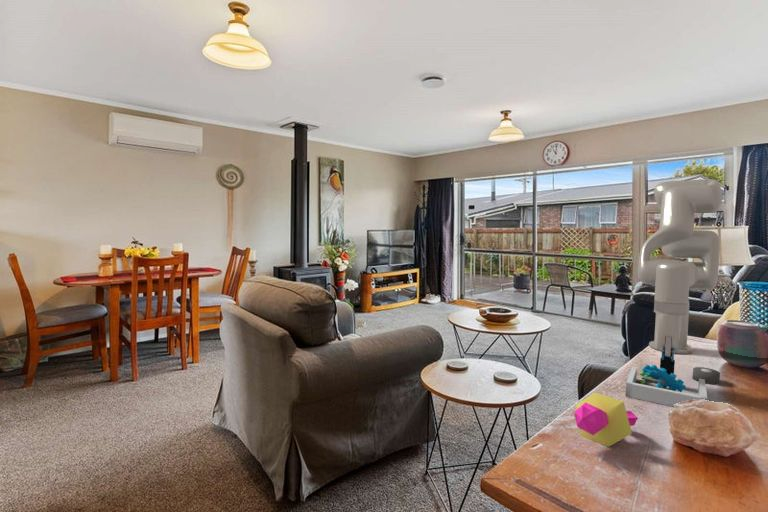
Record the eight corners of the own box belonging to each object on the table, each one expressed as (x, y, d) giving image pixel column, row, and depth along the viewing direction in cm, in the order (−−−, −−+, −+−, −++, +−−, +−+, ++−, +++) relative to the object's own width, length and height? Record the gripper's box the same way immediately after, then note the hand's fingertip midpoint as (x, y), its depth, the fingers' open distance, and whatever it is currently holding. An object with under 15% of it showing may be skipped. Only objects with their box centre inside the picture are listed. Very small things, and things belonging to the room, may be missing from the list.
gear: (695, 391, 103) (672, 366, 101) (684, 410, 102) (661, 385, 100) (655, 381, 114) (634, 358, 112) (644, 398, 112) (623, 375, 110)
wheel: (692, 374, 119) (693, 365, 119) (718, 379, 116) (719, 369, 115) (692, 381, 114) (693, 370, 114) (720, 386, 111) (720, 375, 111)
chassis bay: (631, 378, 116) (632, 366, 116) (703, 392, 107) (704, 379, 106) (625, 396, 104) (626, 383, 104) (706, 413, 94) (707, 399, 94)
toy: (654, 445, 82) (639, 392, 87) (616, 447, 72) (601, 387, 76) (604, 445, 89) (592, 396, 94) (563, 448, 79) (552, 392, 83)
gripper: (655, 302, 118) (652, 363, 120) (652, 311, 106) (648, 378, 108) (687, 305, 114) (683, 368, 115) (688, 314, 102) (683, 385, 103)
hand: (666, 373), depth 111 cm, fingers closed
